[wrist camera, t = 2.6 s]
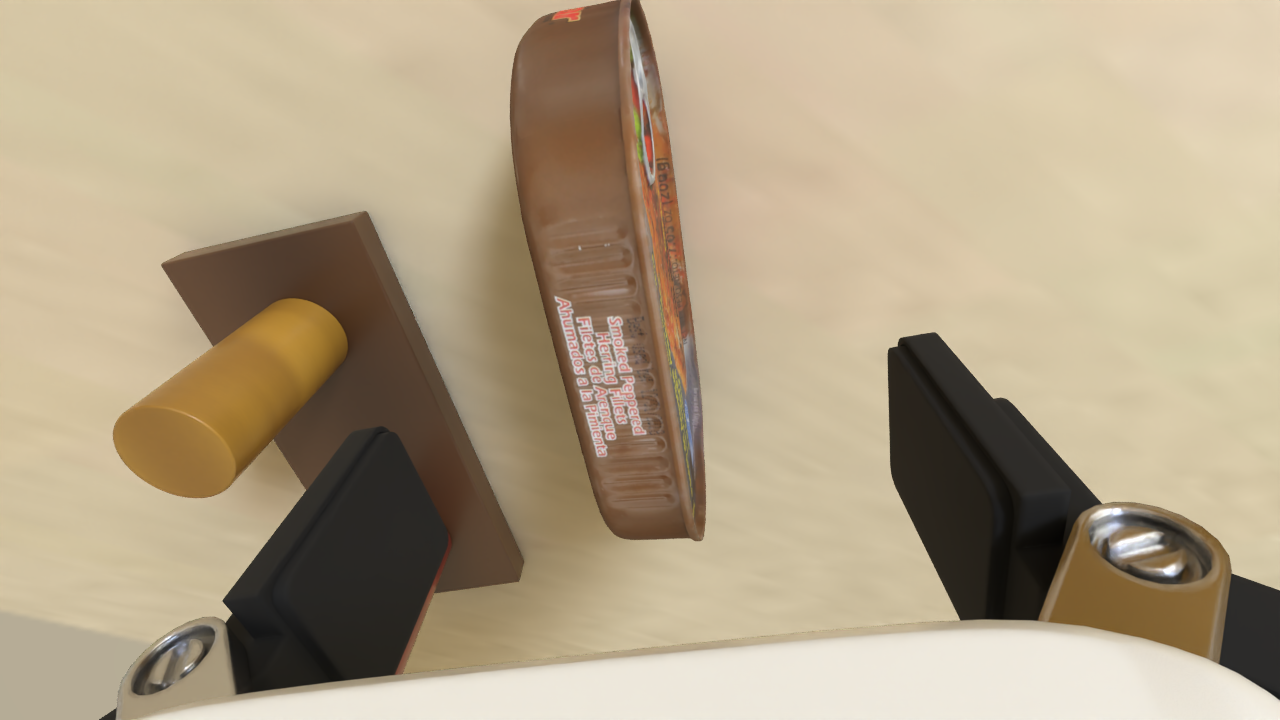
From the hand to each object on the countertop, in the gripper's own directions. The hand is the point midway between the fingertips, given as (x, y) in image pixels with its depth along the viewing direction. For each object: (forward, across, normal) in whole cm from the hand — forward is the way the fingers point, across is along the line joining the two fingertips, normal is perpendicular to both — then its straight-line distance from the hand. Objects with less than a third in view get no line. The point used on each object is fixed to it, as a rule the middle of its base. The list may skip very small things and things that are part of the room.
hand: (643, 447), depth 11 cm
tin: (+11, +1, 0) cm, 11 cm away
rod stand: (+10, +13, +5) cm, 17 cm away
